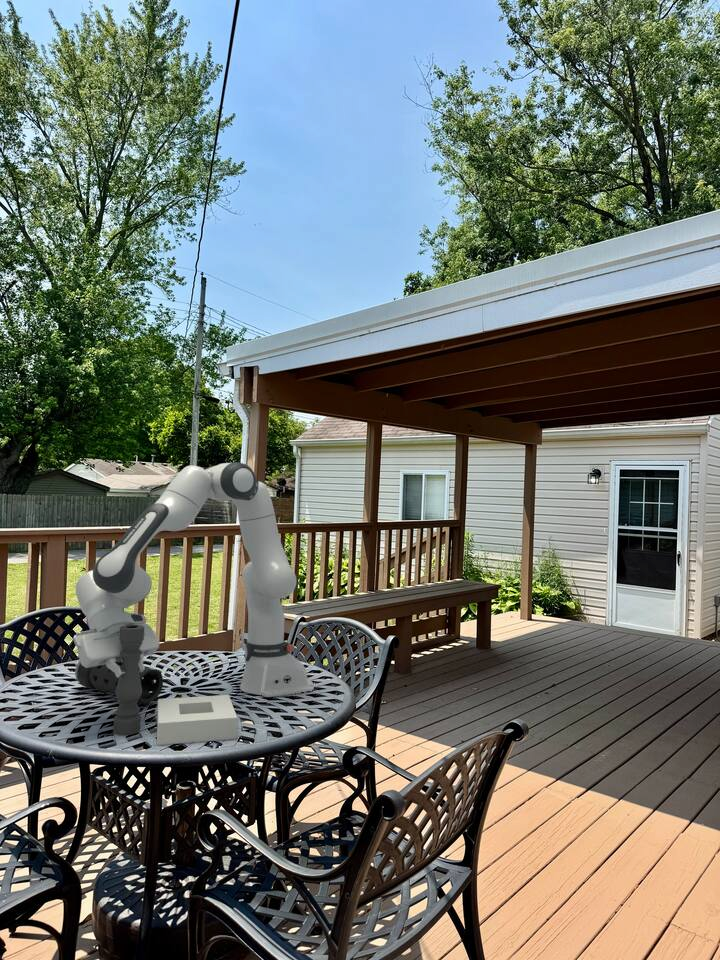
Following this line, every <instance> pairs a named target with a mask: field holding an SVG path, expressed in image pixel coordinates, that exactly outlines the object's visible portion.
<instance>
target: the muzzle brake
mask: <svg viewBox="0 0 720 960" xmlns="http://www.w3.org/2000/svg"><path fill="white" fill-rule="evenodd" d="M115 663H116V664H117V665H118V666H119V667H122V661H118V662H115ZM144 667H145V669H144V671H143V672H140V673H139V676H140V681H141V686H142V694H141V696H140V698H139V699H138V703H141V704H144V705H148V706H150V705H151V703H152V702H154V701H155V700H156V699H158V697H159V696H160V694H161V692H162V689H163V686H164V678H163V675H162V673H161V672H160V671H159V670H158V669H154V668H151V667H146V666H144ZM74 676H75V679H76V680H77V682H78V683H79V684H80V685H81V686H82V687H85V688H89V689H91V690H97V693H99V692H100V693H99V694H102V693H104V694H103V695H107V694H106V693H108V694H112V695H115V696H116V688H117V684H118V681H119V677H118V678H117V677H116V675H115V672H113V671H112V670H110V669H109V668H107V666H106V664H104V665H99V666H94V667H89V668H85V667H84V666H82V664H81V662H80V660H79V661H78V662H77V664H76V666H75V669H74ZM138 703H137V704H138ZM141 704H140V705H141ZM149 704H150V705H149ZM144 705H143V706H144Z"/></svg>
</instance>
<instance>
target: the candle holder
mask: <svg viewBox="0 0 720 960" xmlns="http://www.w3.org/2000/svg"><path fill="white" fill-rule="evenodd" d="M143 640H144V626H142V625H125V626H121V627H120V637H119V641H120V644H121V646H122V648H123V650H122V651H121V652H120V656H122V667H123V668H124V670H125V674H124V676H122V677H119V681H118V684H117V688H116V695H115V697H116V700H117V701H118V704H119V706H118V707H117V709H115V716H114V717H113V729H112V733H113V734H115V735H116V734H117V736H129V735H131V736H132V735H134V734H137V733H139V732H140V731H141V723H142V722H141V721H142V716H141V713H140V712H141V708H140V707H139V706H138V705H139V704H138V699H139V698H140V696H141V694H142V686H141V681H140V676H139V670H138V667H139V657H140V655H141V654H142V651H141V650H140V649H139V648H140V647H141V644H142V643H143V642H142V641H143Z"/></svg>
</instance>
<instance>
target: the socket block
mask: <svg viewBox="0 0 720 960" xmlns="http://www.w3.org/2000/svg"><path fill="white" fill-rule="evenodd" d="M237 727H238V716H237V714H236V711H235V709H234V705H233V703H232V700H231V697H230V695H229V694H222V695H207V696H205V695H204V696H191V697H189V696H188V697H187V696H185V697H174V698H173V697H172V698H170V697H168V698H157V712H156V746H163V745H164V746H165V745H174V744H175V745H176V744H188V743H191V744H192V743H203V742H212V741H213V742H214V741H225V740H226V741H227V740H228V741H229V740H237V731H238V730H237V729H238V728H237Z"/></svg>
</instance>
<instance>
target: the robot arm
mask: <svg viewBox="0 0 720 960" xmlns="http://www.w3.org/2000/svg"><path fill="white" fill-rule="evenodd" d="M206 501H211V502H228V501H232V502H233V504H234V505H235V507H236V511H237V518H238V523H239V530H240V533H241V539H242V545H243V547H244V548H245V550H246V552H247V554H248V556H249V559H250V561H249V562H247V563H246V564H245V566H244V567H243V570H242V571H241V572H242V573H241V578H242V582H243V584H244V591H245V600H246V606H247V615H248V616H247V617H248V619H247V640H246V641H245V646H244V660H245V665H244V671H243V674H242V675H243V676H242V679H241V682H240V685H239V690H241V691H243V692H244V693H247V694H252V695H259V696H261V695H262V696H261V697H266V698H272V697H279V696H287V695H294V694H295V693H296V694H302V693H301V692H304V693H307V692H306V691H311V692H313V691H314V690H315V685H314V683H313V681H312V680H311V679H309V678H308V675H307V670H306V666H304V664H303V663H302V662H301V661H299V660H298V659H297V658H296V657H295V656H293V655H292V654H291V653H292V652H293V651H294V646H293V644H291V643H289V642H287V641H285V640H284V638H285V619H286V618H285V613H284V611H283V608H282V602H281V599H284V598H287V597H289V596H290V595H291V594H292V593H293V592H294V591H295V588H296V587H297V575H296V574H295V572H294V570H293V568H291V565H290V563H289V560H288V556H287V555H286V553H285V550H284V547H283V545H282V541H281V538H280V533H279V528H278V524H277V518H276V513H275V508H274V505H273V501H272V498H271V495H270V492H269V490H268V487H267V485H266V484H265V483H264V482H262V481H259V480H258V478H257V476H256V474H255V472H254V470H253V469H252V468H251V467H250V466H249V465H247V464H245V463H242V462H239V461H237V462H225V463H219V464H217V465H213V466H212V465H211V466H208V467H206V468H203V467H201V466H197V465H187V466H185V467H183V469H181V470H180V471H179V473H177V475H175V477H174V478H173V479H172V480H171V482H170V483H169V484H168V486H167V487H166V489H165V490H164V491H163V492H162V494H161V495H160V497H159V498H158V499H157V500H156V502H154V503H153V504H151V505H149V506H148V507H147V508H146V509H145V510H143V511H142V513H141V514H140V515H139V516H138V517H137V519H136V520H135V521H134V522H133V523H132V524H131V526H130V527H129V528H128V529H127V530H126V532H125V533H124V534H122V536H121V538H120V539H119V540H118V541H117V542H116V543H115V545H114V546H112V547H111V548H110V549H109V550H108V551H106V552H104V554H102V555H101V556H100V557H99V558H98V560H97V561H96V562H95V563H94V566H93V568H92V570H89V571H87V572H84V574H82V575H81V576H80V577H79V578H78V580H77V582H76V585H75V594H76V599H77V602H78V605H79V607H80V609H81V611H82V613H83V614H84V616H85V617H86V619H87V625H88V628H89V630H85V631H82V630H81V631H78V632H76V634H74V635H73V638H72V641H73V643H74V645H75V647H76V651H77V654H78V658H79V659H78V660H79V661H80V662H81V664H82V666H84V667H85V668H89V667H94V666H99V665H104V664H106V666H107V668H109V669H110V670H112V671H113V672H115V675H116V677H117V678H118V677H122V676H124V674H125V670H124V668H123V667H119V666H118V665H117V664H116V663H115V662H118V661H122V656H120V652H121V651H122V650H123V648H122V646H121V644H120V641H119V637H120V627H121V626H125V625H142V626H144V640H143V641H142V642H143V643H142V644H141V647H140V648H139V649H140V650H141V651H142V654H141V655H140V657H139V667H138V670H139V673H140V672H143V671H144V669H145V667H146V666H145V665H144V658H145V657H146V656H147V657H148V656H152V655H155V653H156V652H157V650H158V649H159V647H160V641H159V639H158V637H157V634H156V633H155V631H154V629H153V628H152V626H151V625H150V624H147V618H146V616H145V615H144V614H139V613H132V612H129V611H127V610H125V611H124V609H126V608H129V607H131V606H134V605H136V604H137V603H140V602H142V601H143V600H145V599H146V598H147V596H148V595H149V594H150V592H151V590H152V586H153V585H152V584H153V583H152V578H151V576H150V574H148V573H147V571H145V570H144V569H143V567H141V566H140V565H139V564H138V559H139V556H140V555H141V554H142V552H143V551H144V550H145V548H146V547H147V546H148V545H149V543H150V542H151V541H152V540H153V538H154V537H155V536H156V535H157V534H159V533H160V532H162V531H169V532H179V531H183V530H185V529H188V527H189V526H190V525H191V524H192V523H193V522H194V520H195V519H196V517H197V515H198V514H199V512H200V511H201V509H202V508H203V506H204V504H205V503H206ZM313 689H314V690H313ZM312 690H313V691H312ZM296 694H295V695H296Z"/></svg>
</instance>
